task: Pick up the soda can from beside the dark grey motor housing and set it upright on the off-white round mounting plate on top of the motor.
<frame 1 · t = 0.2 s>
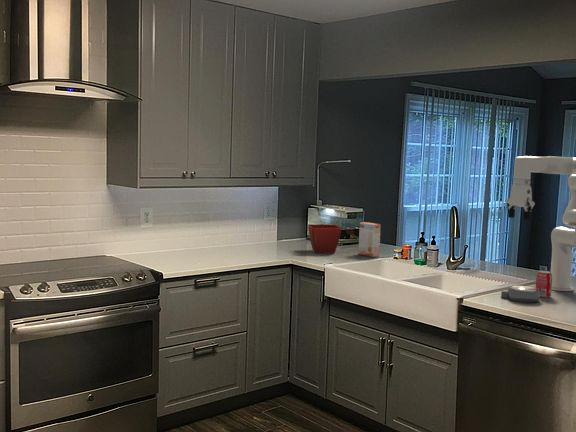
hand: (518, 218, 303), 36 cm above the countertop, tool pointing down, fingers open, 9 cm apart
soda can: (542, 296, 303), on the countertop
cracker box: (368, 256, 406), on the countertop
motor housing: (523, 299, 294), on the countertop
plant pot: (323, 251, 417), on the countertop
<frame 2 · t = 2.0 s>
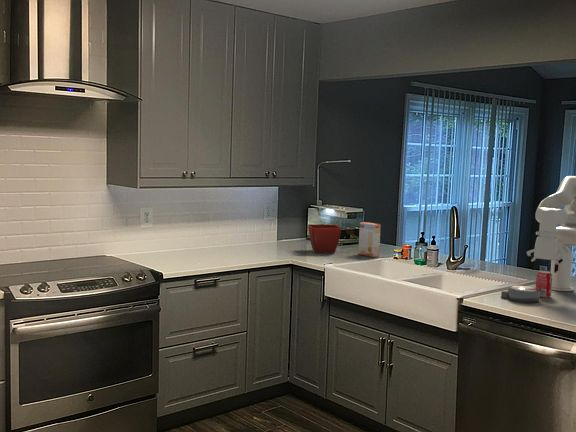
hand: (544, 271, 301), 12 cm above the countertop, tool pointing down, fingers open, 9 cm apart
nothing on the countertop moved.
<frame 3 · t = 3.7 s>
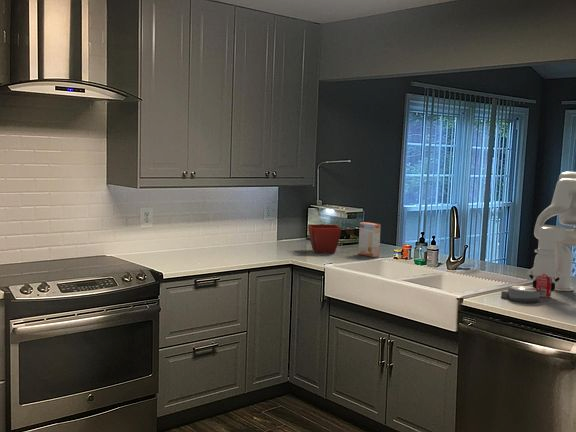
hand: (543, 289, 303), 3 cm above the countertop, tool pointing down, fingers closed on soda can, 7 cm apart
soda can: (542, 296, 303), on the countertop, touching gripper
everything else where it was.
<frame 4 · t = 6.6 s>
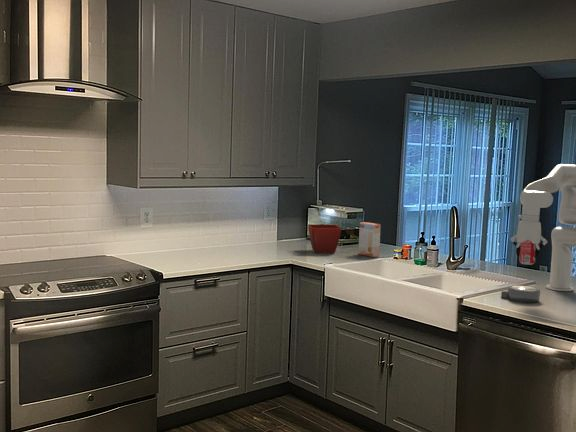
hand: (527, 256, 292), 20 cm above the countertop, tool pointing down, fingers closed on soda can, 7 cm apart
soda can: (526, 264, 293), point 17 cm above the countertop, touching gripper
everything else where it was.
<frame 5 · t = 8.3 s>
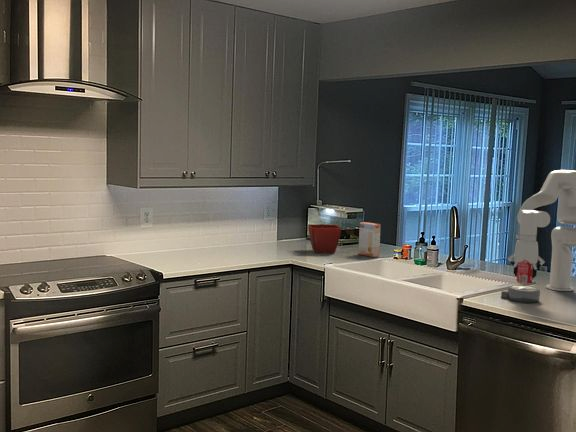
hand: (524, 276, 293), 11 cm above the countertop, tool pointing down, fingers closed on soda can, 7 cm apart
soda can: (524, 283, 293), point 8 cm above the countertop, touching gripper
everything else where it was.
when the fingers open (10 cm above the countertop, at t = 9.5 s): soda can drops 1 cm, resting on motor housing.
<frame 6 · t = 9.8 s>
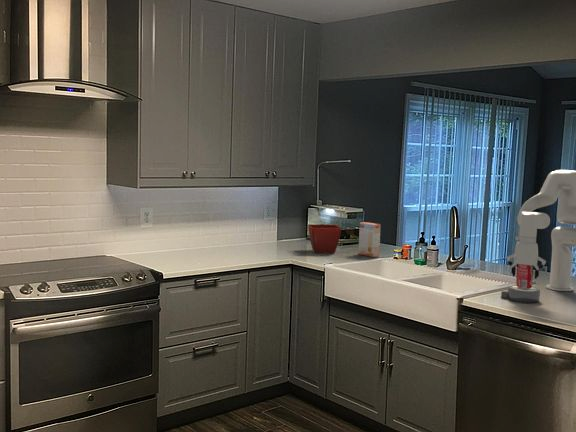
hand: (524, 276, 293), 11 cm above the countertop, tool pointing down, fingers open, 9 cm apart
soda can: (524, 288, 294), point 5 cm above the countertop, touching motor housing
everything else where it was.
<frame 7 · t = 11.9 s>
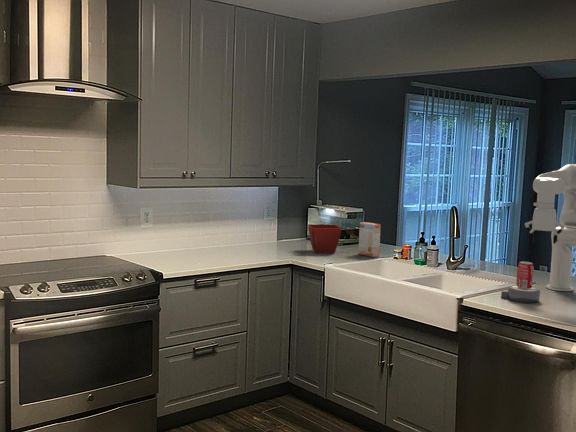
hand: (543, 242, 297), 26 cm above the countertop, tool pointing down, fingers open, 9 cm apart
nothing on the countertop moved.
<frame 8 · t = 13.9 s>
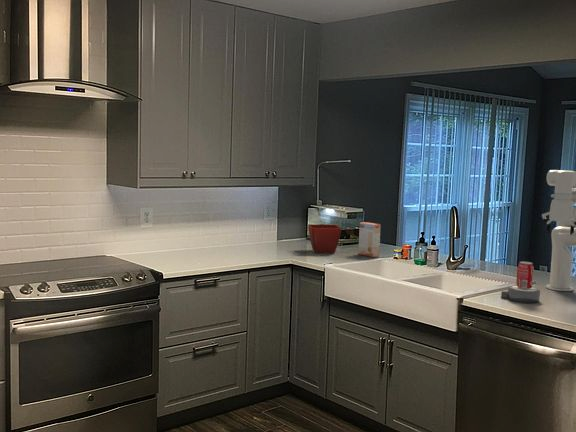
hand: (560, 233, 301), 30 cm above the countertop, tool pointing down, fingers open, 9 cm apart
nothing on the countertop moved.
at the end: soda can inside the target area on the motor housing (0.1 cm from its centre), point 5.3 cm above the motor housing's base; soda can tilted 1°; the gripper is holding nothing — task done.
